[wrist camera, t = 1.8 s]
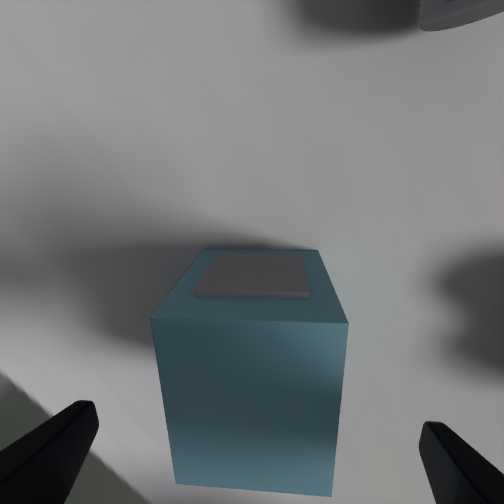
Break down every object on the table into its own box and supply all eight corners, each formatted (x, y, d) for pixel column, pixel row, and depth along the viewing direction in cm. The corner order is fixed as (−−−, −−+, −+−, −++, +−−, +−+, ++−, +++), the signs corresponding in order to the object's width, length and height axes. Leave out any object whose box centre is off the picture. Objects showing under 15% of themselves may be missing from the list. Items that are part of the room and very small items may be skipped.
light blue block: (311, 371, 14) (330, 501, 9) (213, 366, 14) (176, 488, 9) (318, 245, 12) (349, 316, 7) (204, 244, 12) (149, 310, 7)
